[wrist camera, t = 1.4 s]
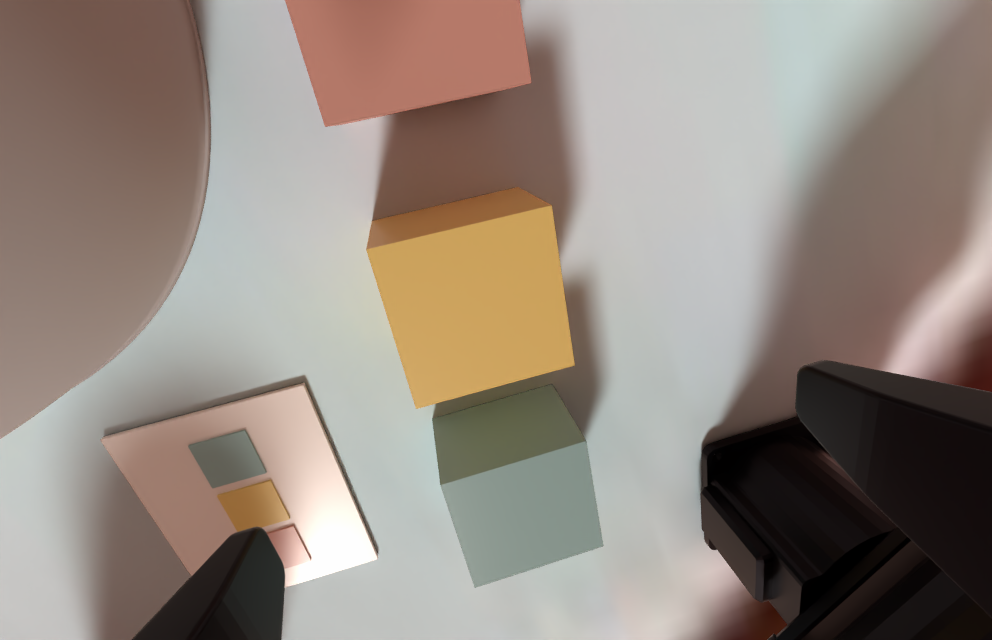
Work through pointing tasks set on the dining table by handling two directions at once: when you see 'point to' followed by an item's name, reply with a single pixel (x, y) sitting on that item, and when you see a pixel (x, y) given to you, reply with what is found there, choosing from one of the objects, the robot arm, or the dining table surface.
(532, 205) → the mustard brick
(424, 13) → the terracotta brick
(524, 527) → the teal base brick
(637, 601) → the dining table surface
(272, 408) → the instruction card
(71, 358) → the kettle
